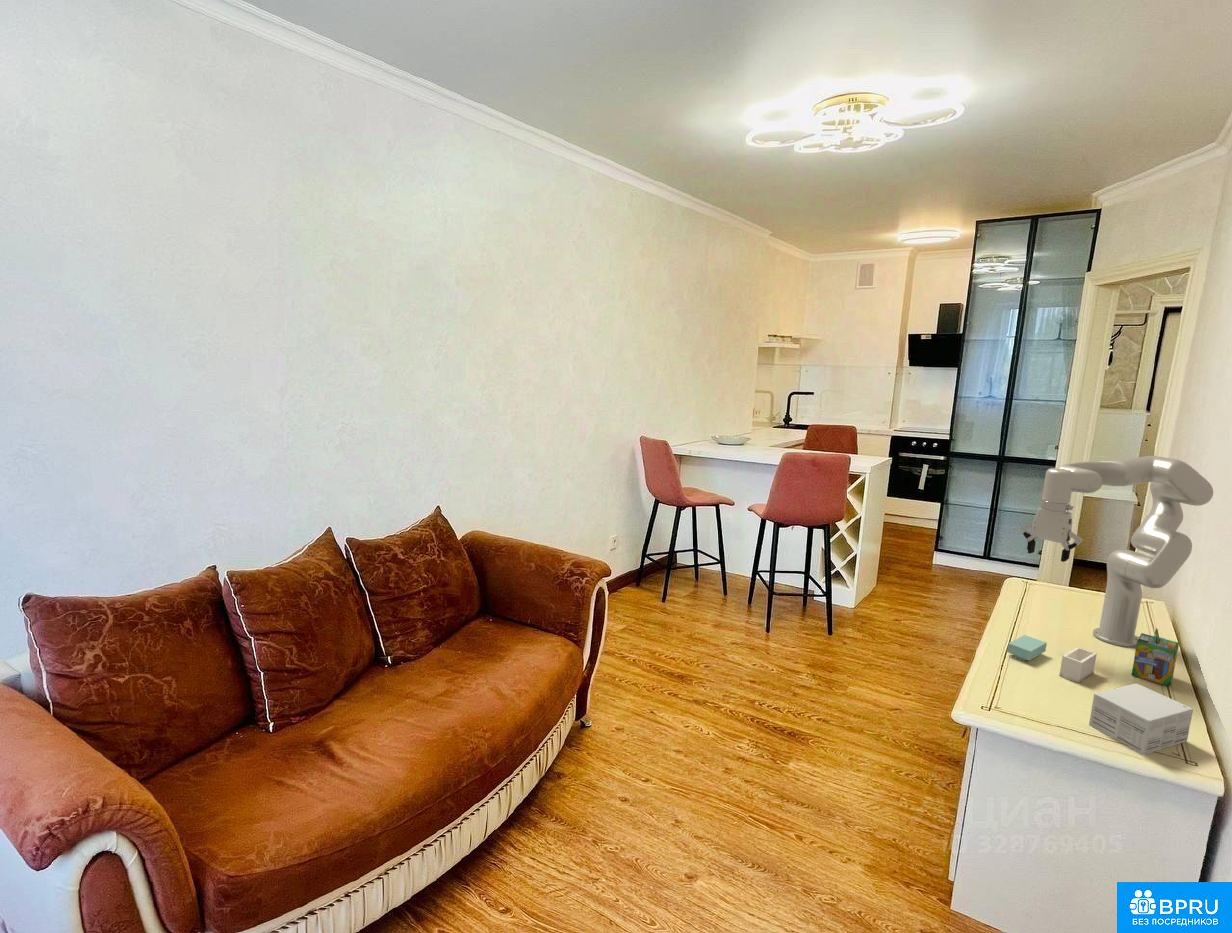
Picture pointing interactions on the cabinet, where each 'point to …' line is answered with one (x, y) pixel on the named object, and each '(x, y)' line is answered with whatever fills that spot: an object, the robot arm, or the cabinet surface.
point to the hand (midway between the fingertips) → (1047, 556)
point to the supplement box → (1140, 718)
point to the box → (1077, 664)
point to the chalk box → (1155, 659)
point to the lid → (1026, 648)
